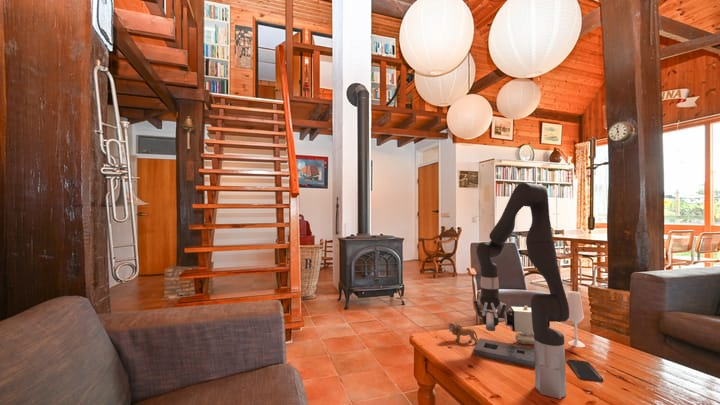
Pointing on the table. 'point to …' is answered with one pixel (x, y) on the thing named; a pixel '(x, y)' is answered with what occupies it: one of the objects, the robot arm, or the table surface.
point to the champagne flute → (575, 314)
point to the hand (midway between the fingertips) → (490, 324)
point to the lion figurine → (462, 332)
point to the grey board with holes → (505, 352)
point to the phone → (584, 370)
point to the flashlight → (490, 320)
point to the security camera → (521, 323)
